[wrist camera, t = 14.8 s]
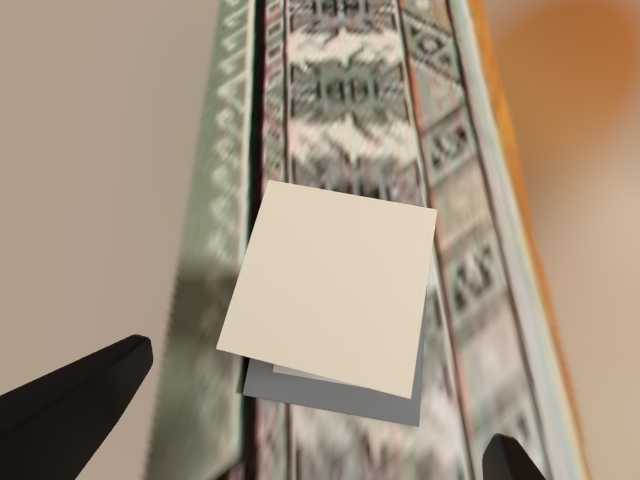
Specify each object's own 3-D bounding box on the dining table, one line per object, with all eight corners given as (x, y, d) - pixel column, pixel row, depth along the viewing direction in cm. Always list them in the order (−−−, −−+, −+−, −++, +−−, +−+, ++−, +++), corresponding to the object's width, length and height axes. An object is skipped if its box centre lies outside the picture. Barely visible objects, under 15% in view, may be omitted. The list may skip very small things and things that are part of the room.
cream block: (373, 374, 19) (410, 399, 8) (289, 353, 20) (216, 348, 9) (388, 289, 21) (437, 209, 10) (309, 272, 22) (268, 179, 10)
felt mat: (417, 424, 19) (419, 427, 18) (245, 393, 20) (241, 395, 20) (426, 254, 22) (429, 251, 22) (277, 236, 23) (275, 232, 23)
